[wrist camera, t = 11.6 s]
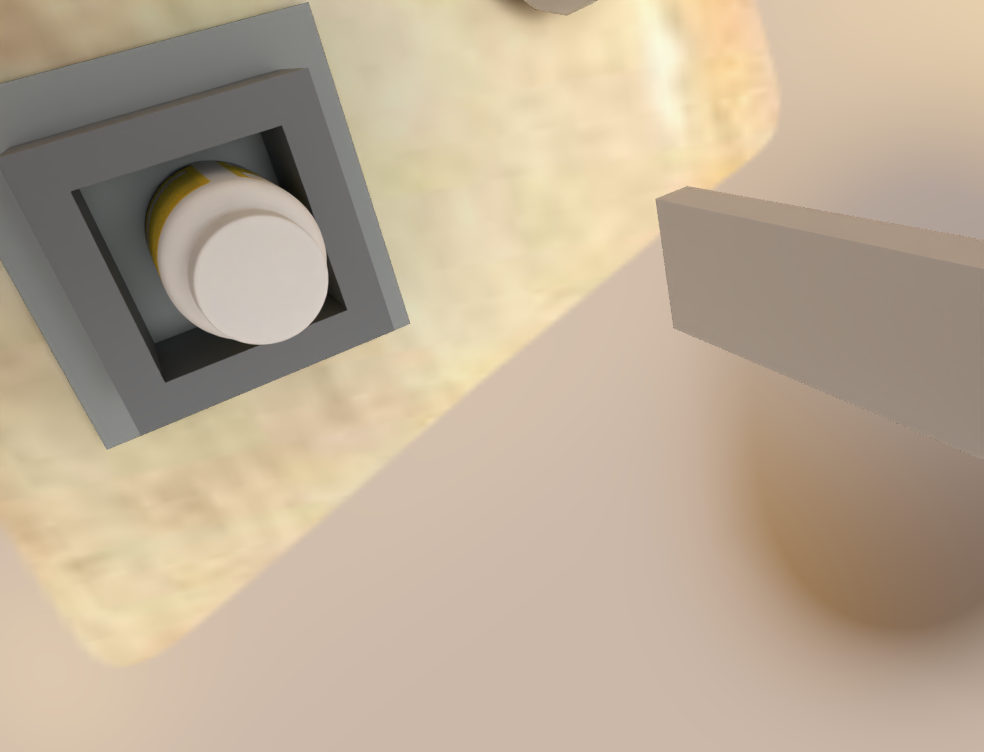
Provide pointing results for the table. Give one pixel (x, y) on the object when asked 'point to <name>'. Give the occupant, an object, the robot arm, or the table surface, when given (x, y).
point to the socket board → (129, 186)
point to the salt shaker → (559, 5)
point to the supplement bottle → (236, 252)
